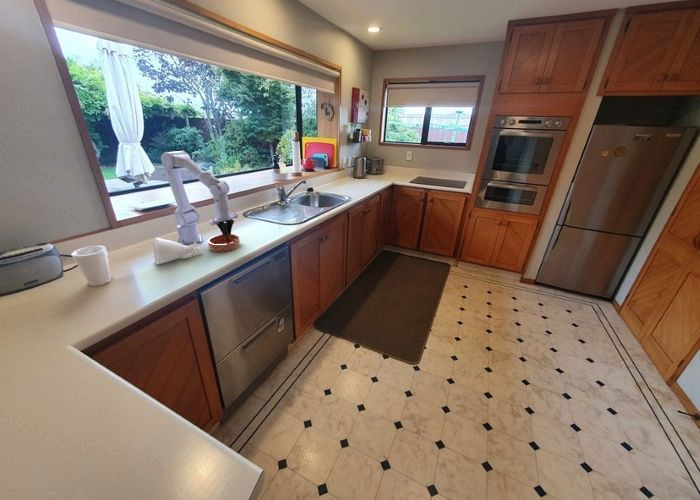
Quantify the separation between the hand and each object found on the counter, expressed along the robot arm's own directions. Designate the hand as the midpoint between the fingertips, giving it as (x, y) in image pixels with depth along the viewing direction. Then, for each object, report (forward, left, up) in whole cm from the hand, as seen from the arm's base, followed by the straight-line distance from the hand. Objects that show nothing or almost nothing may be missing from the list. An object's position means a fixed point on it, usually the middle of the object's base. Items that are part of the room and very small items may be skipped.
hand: (226, 235), depth 138 cm
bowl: (-2, +1, -6) cm, 7 cm away
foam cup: (-48, -12, -7) cm, 50 cm away
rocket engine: (-21, -5, -7) cm, 23 cm away
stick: (0, 0, -3) cm, 3 cm away
